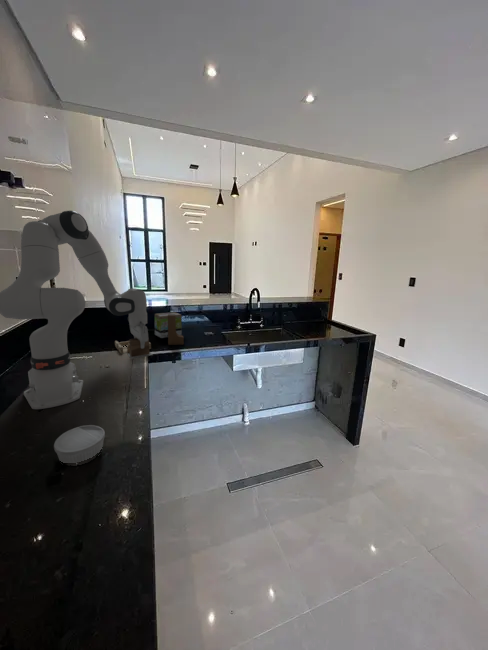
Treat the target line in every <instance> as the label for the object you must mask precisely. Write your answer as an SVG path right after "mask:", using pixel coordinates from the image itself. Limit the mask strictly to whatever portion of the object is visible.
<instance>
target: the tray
mask: <svg viewBox="0 0 488 650" xmlns="http://www.w3.org/2000/svg"><path fill="white" fill-rule="evenodd" d="M128 344H129V340H126V341H120V342H119V341H118V340H114V347H115V348H116V350H118V352H119V354H129V352H128V351H127V347H126V346H128ZM125 345H126V346H125ZM123 346H124V347H123ZM151 349H152V343H151V342H150V341H149V350H151Z"/></svg>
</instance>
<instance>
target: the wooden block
mask: <svg viewBox="0 0 488 650" xmlns="http://www.w3.org/2000/svg"><path fill="white" fill-rule="evenodd" d="M167 338H168V339H167V344H168V346H174V345H175V346H177V345H178V346H179V345H181V346H182V345H185V341H184V340H185V339H184V335H183V334H181V335H178V334H177V333H176V315H175V314H168V337H167Z"/></svg>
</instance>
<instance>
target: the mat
mask: <svg viewBox="0 0 488 650" xmlns="http://www.w3.org/2000/svg"><path fill="white" fill-rule="evenodd" d="M126 354H127V356H128V357H129V358H130V359H131V360H134V359H138V358H144V357H149V356H153V353H151V351H149V354H145V355H140V356H134V357H132V356H131V355H130V353H129V352H128V353H126Z"/></svg>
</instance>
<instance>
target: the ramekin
mask: <svg viewBox="0 0 488 650" xmlns="http://www.w3.org/2000/svg"><path fill="white" fill-rule="evenodd" d="M105 437H106V432H105V429H104V428H102V427H100V426H99V425H94V424H89V425H80V426H77V427H74V428H70V429H69V430H67V431H65V432H63V433H62V434H60V435H59V436H58V437H57V438H56V439H55V441H54V444H53V449H54V452H55V453H56V454H57V457H58V460H59V462H60V461H61V462H63V463H77V462H81V461H84V460H87V459H89V458H92V457H93V456H95V455H96V454H97V453H99V452H100V450H101V449H102V450H103V448H102V447H104V439H105ZM61 462H60V463H61Z"/></svg>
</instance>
